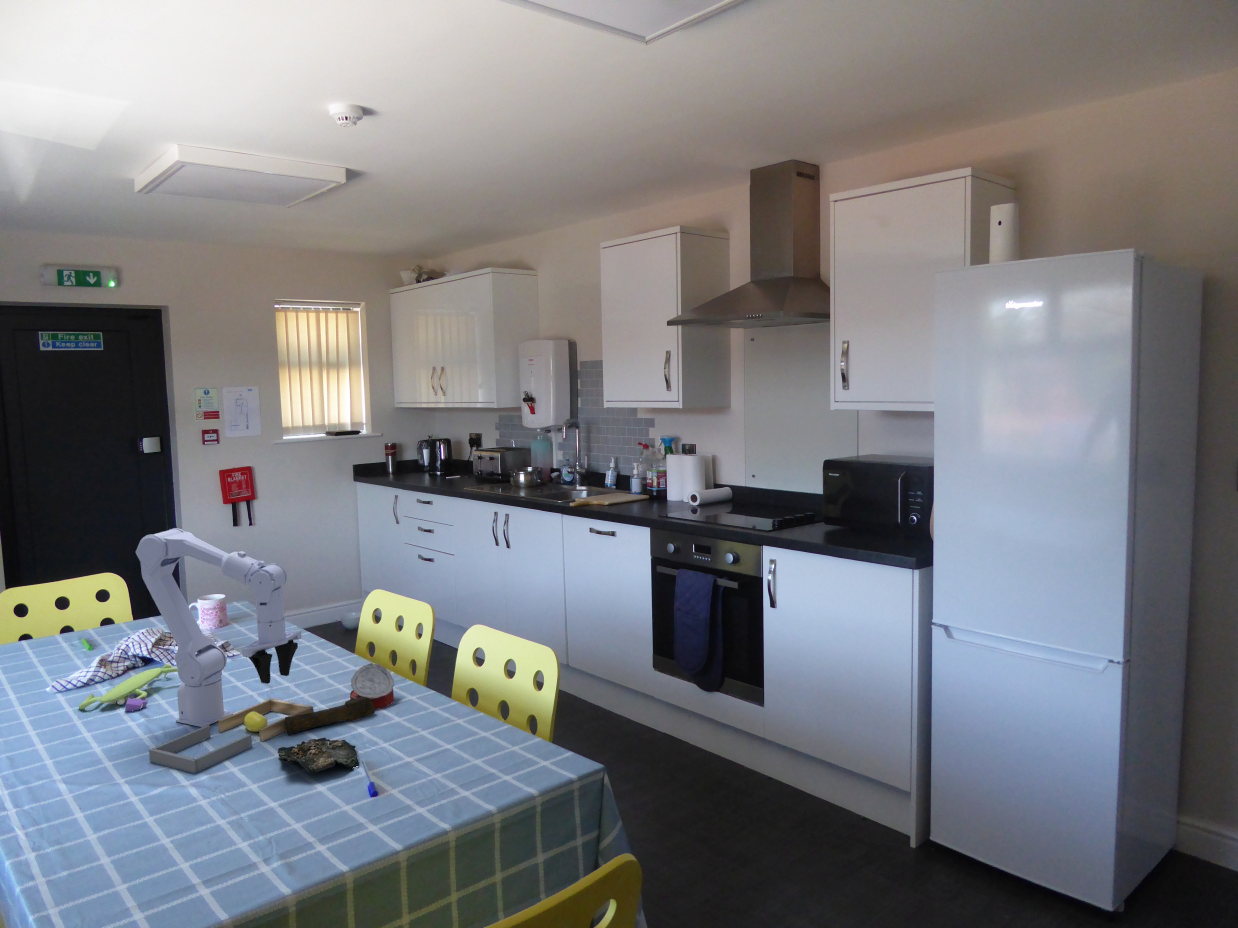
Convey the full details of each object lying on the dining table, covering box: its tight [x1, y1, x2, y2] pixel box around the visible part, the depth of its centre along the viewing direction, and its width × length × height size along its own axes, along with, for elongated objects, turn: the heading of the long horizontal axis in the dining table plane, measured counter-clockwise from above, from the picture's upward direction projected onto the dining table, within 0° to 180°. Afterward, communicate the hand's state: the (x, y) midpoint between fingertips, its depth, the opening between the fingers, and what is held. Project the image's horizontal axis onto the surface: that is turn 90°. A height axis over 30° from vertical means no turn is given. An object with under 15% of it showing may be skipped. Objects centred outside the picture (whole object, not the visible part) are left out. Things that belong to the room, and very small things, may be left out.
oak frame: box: [217, 698, 315, 742], centre depth 183 cm, size 14×14×2 cm
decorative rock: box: [277, 737, 359, 774], centre depth 164 cm, size 19×6×15 cm
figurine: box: [78, 663, 178, 712], centre depth 205 cm, size 18×27×6 cm
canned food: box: [349, 662, 395, 711], centre depth 194 cm, size 11×10×10 cm
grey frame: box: [148, 725, 253, 774], centre depth 169 cm, size 14×13×2 cm
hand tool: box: [284, 697, 376, 736], centre depth 182 cm, size 19×4×5 cm, turn 119°
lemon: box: [243, 711, 268, 733], centre depth 181 cm, size 4×8×4 cm, turn 40°
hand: (275, 678), depth 185 cm, fingers open, 5 cm apart
